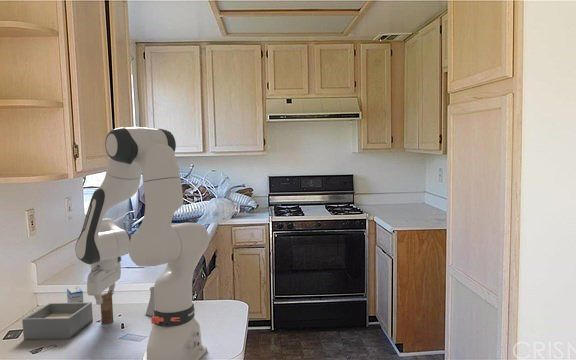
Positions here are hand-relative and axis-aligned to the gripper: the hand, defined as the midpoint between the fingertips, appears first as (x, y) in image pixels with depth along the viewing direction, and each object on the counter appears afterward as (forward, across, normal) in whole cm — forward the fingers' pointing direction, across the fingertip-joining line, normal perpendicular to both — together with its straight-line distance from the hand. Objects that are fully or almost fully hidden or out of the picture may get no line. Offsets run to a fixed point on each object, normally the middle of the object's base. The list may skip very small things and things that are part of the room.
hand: (105, 299), depth 167 cm
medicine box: (+9, +12, +18) cm, 23 cm away
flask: (+8, +8, -16) cm, 19 cm away
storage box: (+8, -7, +14) cm, 17 cm away
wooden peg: (+8, 0, 0) cm, 8 cm away
